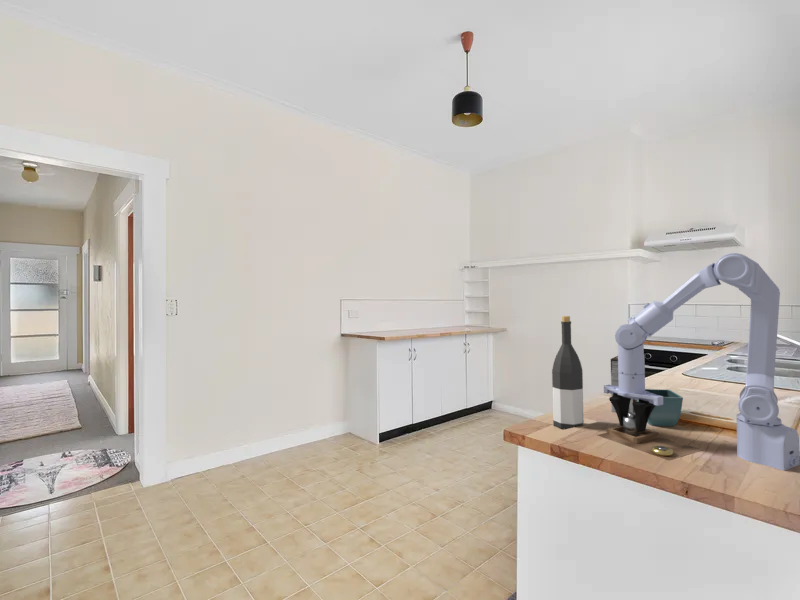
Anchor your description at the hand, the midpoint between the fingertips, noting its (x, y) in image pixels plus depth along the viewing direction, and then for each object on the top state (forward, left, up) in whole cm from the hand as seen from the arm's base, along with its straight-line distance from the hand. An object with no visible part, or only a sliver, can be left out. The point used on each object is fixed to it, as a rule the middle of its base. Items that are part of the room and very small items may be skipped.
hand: (632, 427), depth 104 cm
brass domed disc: (-10, +5, -2) cm, 12 cm away
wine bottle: (+16, +5, -3) cm, 17 cm away
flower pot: (+4, -15, -3) cm, 16 cm away
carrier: (-4, +1, -3) cm, 5 cm away
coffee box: (+18, -21, -3) cm, 28 cm away
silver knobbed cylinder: (0, 0, -1) cm, 1 cm away
